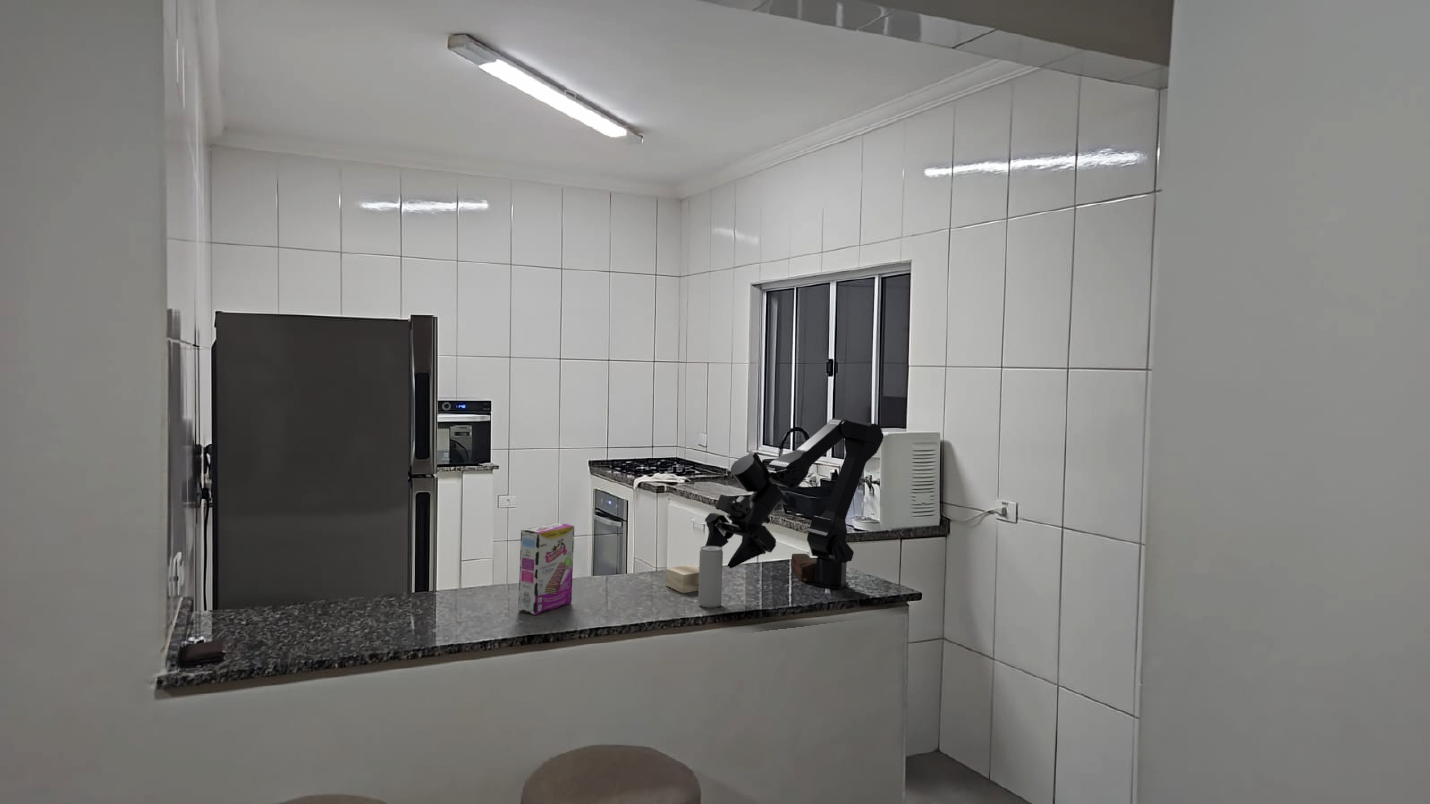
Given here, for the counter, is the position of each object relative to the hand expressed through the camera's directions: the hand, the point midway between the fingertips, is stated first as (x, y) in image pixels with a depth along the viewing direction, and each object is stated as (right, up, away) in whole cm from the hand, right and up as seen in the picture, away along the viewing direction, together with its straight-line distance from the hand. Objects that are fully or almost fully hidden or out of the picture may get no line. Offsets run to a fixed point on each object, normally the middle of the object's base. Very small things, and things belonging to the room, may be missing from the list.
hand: (715, 562), depth 184 cm
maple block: (-6, -8, +14) cm, 17 cm away
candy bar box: (-34, -8, -5) cm, 36 cm away
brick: (+21, -9, +27) cm, 35 cm away
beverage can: (-1, -9, 0) cm, 9 cm away
